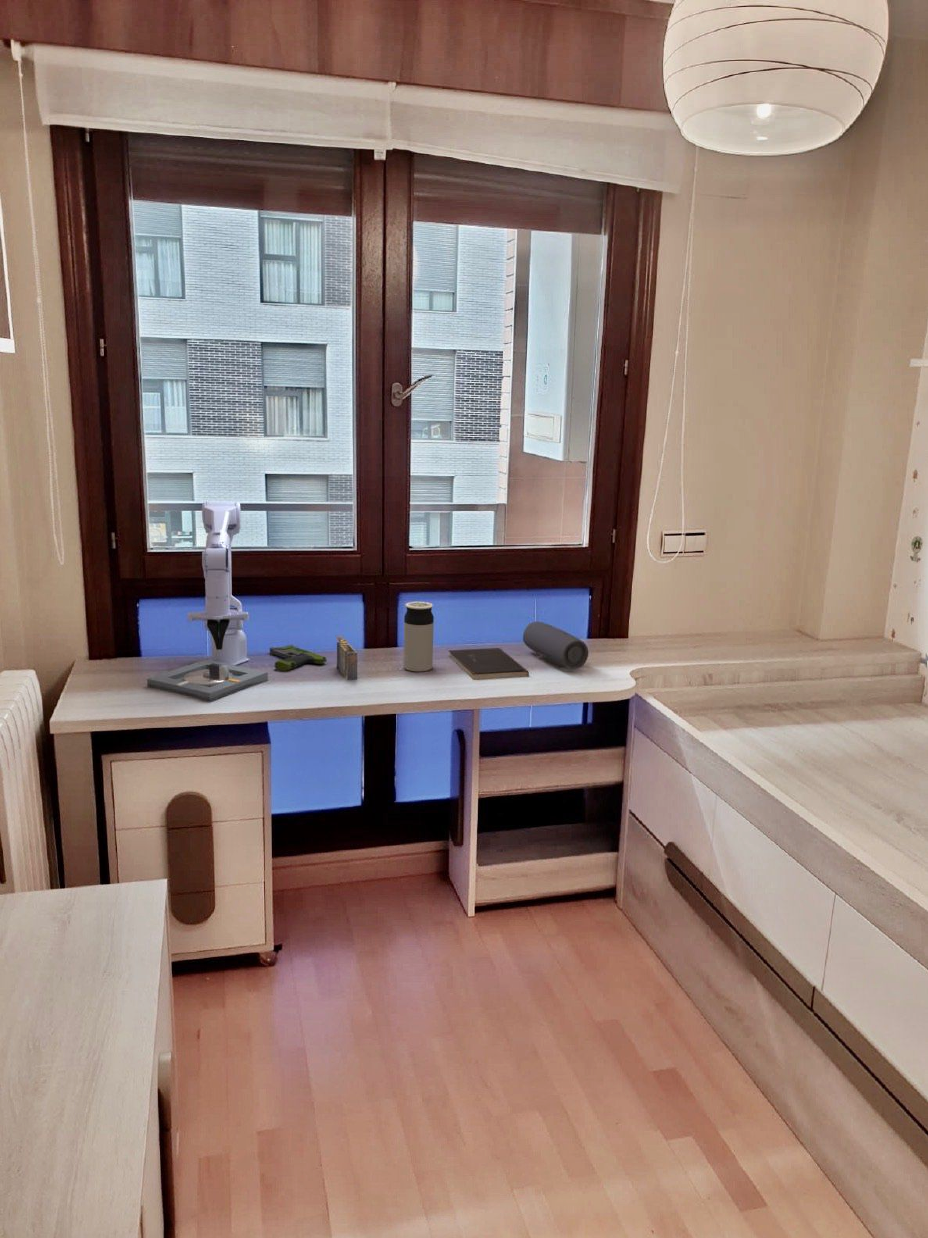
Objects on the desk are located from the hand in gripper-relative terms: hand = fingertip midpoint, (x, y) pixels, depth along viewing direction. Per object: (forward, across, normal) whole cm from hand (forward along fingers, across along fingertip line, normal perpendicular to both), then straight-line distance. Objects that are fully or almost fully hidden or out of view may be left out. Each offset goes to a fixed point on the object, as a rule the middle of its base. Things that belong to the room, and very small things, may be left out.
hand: (219, 648), depth 238 cm
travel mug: (+10, +52, +12) cm, 54 cm away
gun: (+10, +16, +22) cm, 29 cm away
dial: (+9, -3, +2) cm, 9 cm away
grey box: (+10, +32, +9) cm, 35 cm away
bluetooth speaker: (+10, +91, +16) cm, 93 cm away
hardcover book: (+11, +72, +14) cm, 74 cm away
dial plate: (+10, -3, +2) cm, 10 cm away
